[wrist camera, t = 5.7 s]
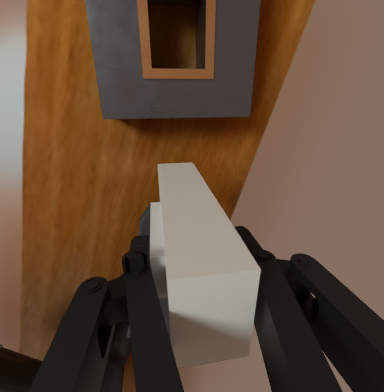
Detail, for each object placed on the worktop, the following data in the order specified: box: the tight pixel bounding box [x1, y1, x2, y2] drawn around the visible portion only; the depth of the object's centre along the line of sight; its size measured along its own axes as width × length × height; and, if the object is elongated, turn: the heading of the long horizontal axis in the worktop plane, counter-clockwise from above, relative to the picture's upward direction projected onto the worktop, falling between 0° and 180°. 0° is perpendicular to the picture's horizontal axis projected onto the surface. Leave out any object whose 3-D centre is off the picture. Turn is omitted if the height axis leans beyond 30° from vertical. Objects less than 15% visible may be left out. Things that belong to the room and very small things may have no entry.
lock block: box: [85, 0, 261, 119], centre depth 27 cm, size 18×18×6 cm
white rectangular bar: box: [158, 162, 261, 368], centre depth 17 cm, size 5×4×16 cm
